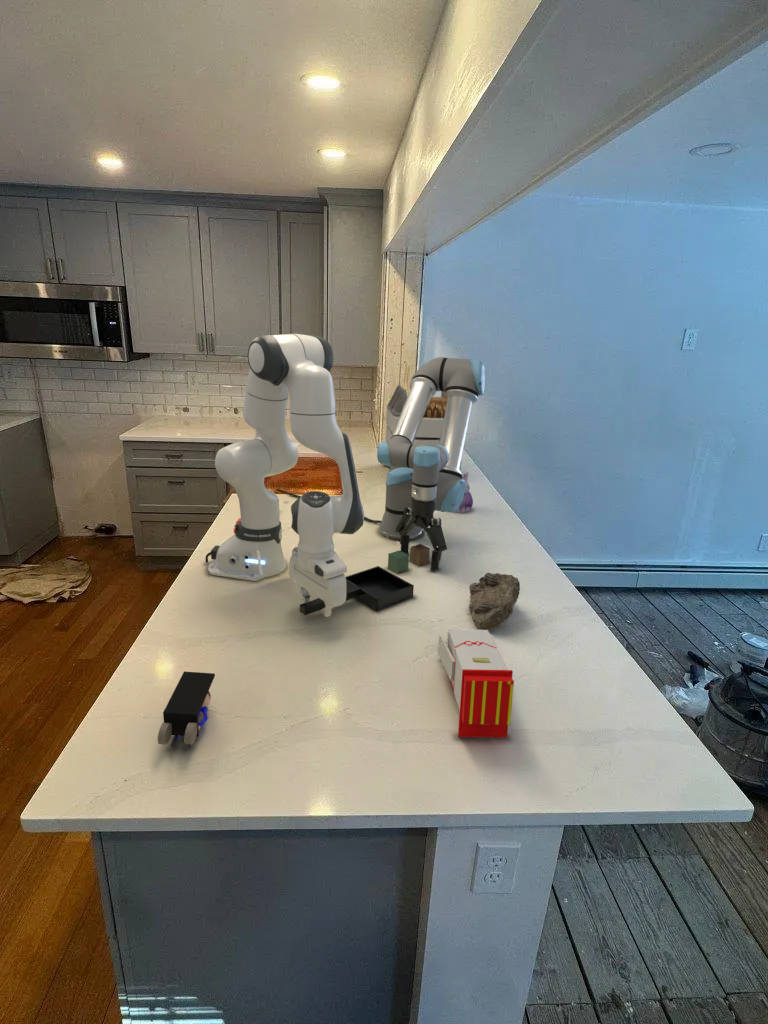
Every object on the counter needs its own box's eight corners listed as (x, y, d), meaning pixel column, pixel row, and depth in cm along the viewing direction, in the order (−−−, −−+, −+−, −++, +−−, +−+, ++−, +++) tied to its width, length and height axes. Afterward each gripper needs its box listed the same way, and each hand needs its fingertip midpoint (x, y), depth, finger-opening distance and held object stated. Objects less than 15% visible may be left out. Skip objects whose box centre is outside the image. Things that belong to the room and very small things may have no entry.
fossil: (461, 576, 160) (507, 550, 155) (480, 600, 163) (525, 575, 158) (463, 624, 140) (516, 596, 135) (485, 650, 143) (537, 624, 138)
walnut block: (409, 561, 179) (410, 546, 177) (419, 558, 181) (420, 543, 180) (418, 566, 175) (420, 551, 174) (429, 562, 178) (430, 548, 177)
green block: (387, 568, 173) (388, 553, 171) (398, 565, 176) (399, 550, 174) (397, 573, 170) (398, 558, 168) (408, 570, 173) (409, 555, 171)
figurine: (459, 514, 221) (463, 477, 216) (445, 506, 229) (448, 470, 224) (479, 511, 225) (483, 475, 220) (464, 503, 234) (467, 468, 228)
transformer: (382, 463, 289) (386, 382, 275) (445, 464, 293) (451, 384, 279) (390, 482, 257) (394, 392, 243) (460, 483, 261) (468, 394, 247)
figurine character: (198, 762, 99) (219, 698, 112) (193, 731, 96) (215, 669, 109) (159, 761, 99) (184, 698, 112) (153, 730, 95) (180, 668, 109)
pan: (286, 608, 148) (285, 594, 146) (377, 576, 167) (378, 564, 166) (319, 633, 137) (319, 619, 136) (413, 597, 157) (413, 584, 155)
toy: (488, 613, 130) (523, 677, 101) (484, 667, 133) (517, 744, 104) (435, 612, 130) (455, 676, 101) (432, 666, 133) (451, 743, 103)
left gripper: (282, 547, 145) (283, 595, 149) (329, 575, 130) (329, 628, 135) (303, 541, 149) (303, 589, 153) (351, 568, 134) (350, 619, 139)
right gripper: (387, 489, 177) (384, 551, 185) (445, 511, 160) (439, 579, 167) (404, 485, 182) (401, 546, 189) (462, 507, 165) (456, 573, 172)
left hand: (316, 607), depth 144 cm, fingers open, 8 cm apart
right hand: (418, 562), depth 178 cm, fingers open, 13 cm apart
